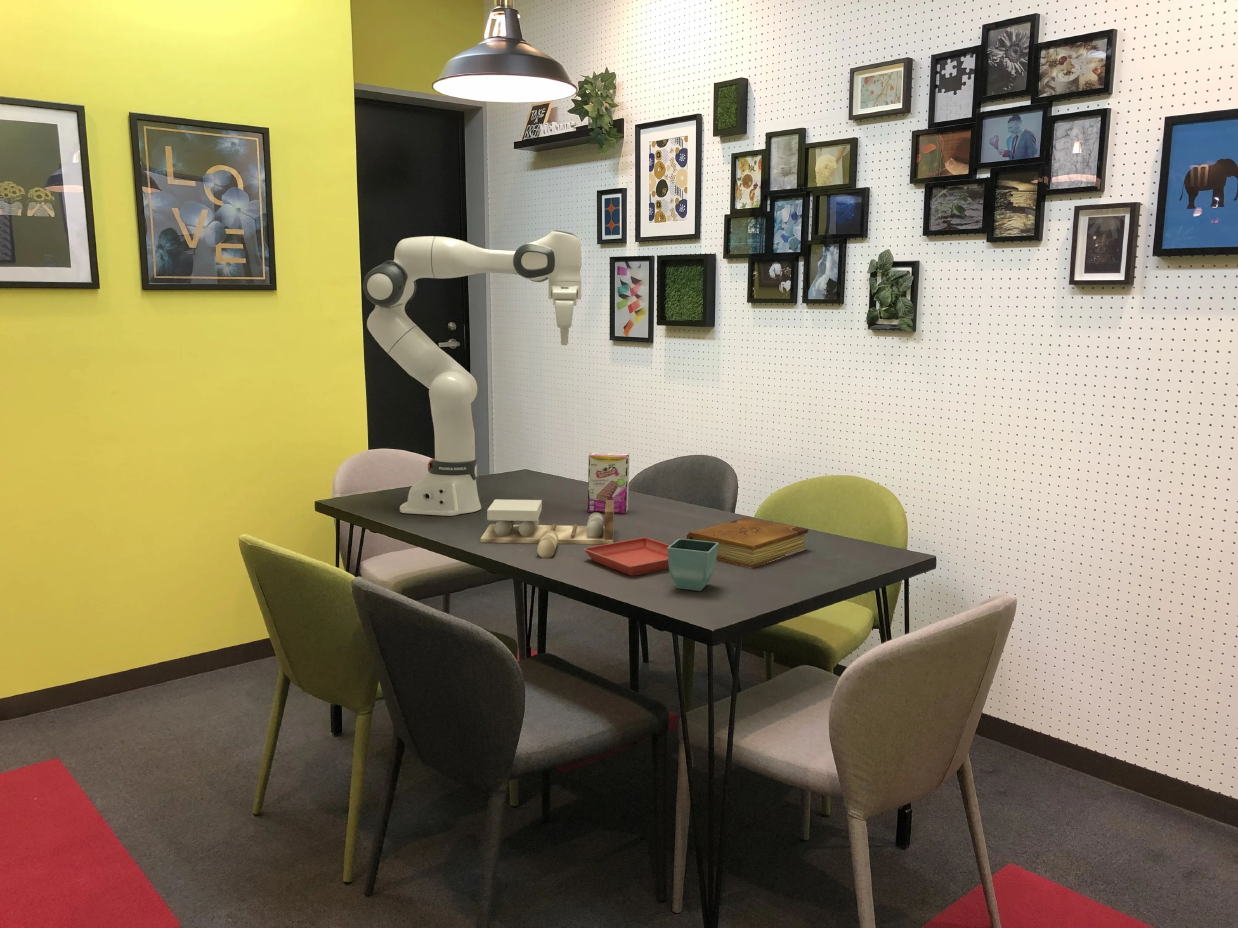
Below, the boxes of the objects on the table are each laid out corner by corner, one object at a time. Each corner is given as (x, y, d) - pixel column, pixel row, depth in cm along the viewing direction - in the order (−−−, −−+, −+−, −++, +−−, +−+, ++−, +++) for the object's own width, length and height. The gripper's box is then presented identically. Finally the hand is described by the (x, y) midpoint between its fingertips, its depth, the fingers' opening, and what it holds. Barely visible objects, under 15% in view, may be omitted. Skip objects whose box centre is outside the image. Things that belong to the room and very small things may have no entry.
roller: (537, 558, 212) (537, 541, 212) (541, 546, 223) (541, 529, 223) (554, 558, 212) (554, 541, 212) (558, 546, 223) (558, 530, 223)
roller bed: (480, 542, 225) (480, 509, 224) (489, 528, 240) (489, 497, 239) (612, 544, 225) (613, 512, 224) (613, 530, 240) (614, 499, 239)
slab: (487, 520, 225) (487, 510, 225) (495, 508, 238) (494, 499, 238) (536, 520, 225) (536, 510, 225) (541, 509, 238) (541, 500, 238)
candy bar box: (587, 512, 260) (587, 454, 257) (589, 509, 265) (590, 452, 262) (627, 514, 259) (627, 456, 256) (628, 510, 264) (629, 453, 261)
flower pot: (718, 583, 194) (719, 541, 192) (708, 595, 185) (709, 551, 184) (677, 579, 196) (678, 537, 195) (665, 590, 188) (666, 547, 187)
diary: (742, 539, 235) (743, 516, 234) (807, 552, 223) (808, 529, 222) (686, 554, 218) (686, 530, 217) (752, 570, 206) (753, 544, 205)
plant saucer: (629, 580, 196) (630, 565, 196) (582, 561, 211) (582, 547, 210) (694, 567, 207) (695, 553, 206) (645, 550, 221) (645, 537, 221)
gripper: (554, 293, 261) (553, 343, 263) (552, 292, 240) (551, 345, 243) (576, 293, 261) (576, 343, 263) (576, 292, 241) (576, 346, 243)
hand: (564, 344), depth 253 cm, fingers open, 8 cm apart
